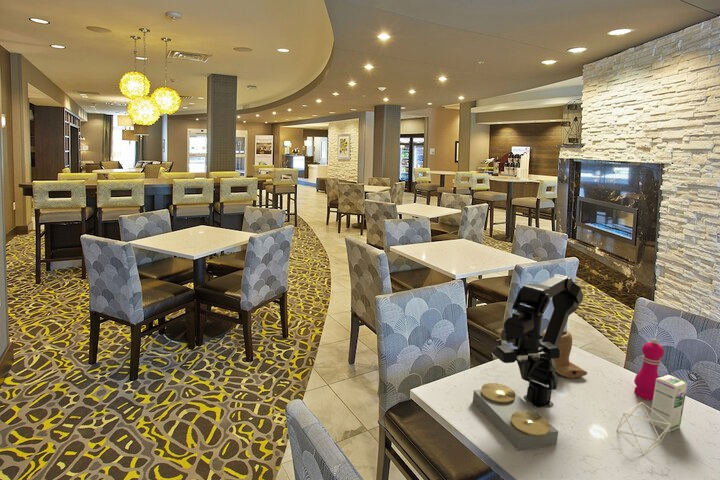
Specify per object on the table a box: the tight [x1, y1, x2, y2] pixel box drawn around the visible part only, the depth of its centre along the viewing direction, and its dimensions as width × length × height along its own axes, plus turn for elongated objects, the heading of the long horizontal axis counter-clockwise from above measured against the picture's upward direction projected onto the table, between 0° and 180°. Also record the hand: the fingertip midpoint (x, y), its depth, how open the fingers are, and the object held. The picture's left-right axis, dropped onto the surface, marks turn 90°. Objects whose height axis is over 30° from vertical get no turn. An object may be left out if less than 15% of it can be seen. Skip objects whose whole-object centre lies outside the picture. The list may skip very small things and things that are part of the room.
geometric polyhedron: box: [616, 401, 671, 456], centre depth 126 cm, size 12×11×9 cm
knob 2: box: [511, 411, 551, 436], centre depth 126 cm, size 10×10×5 cm
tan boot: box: [541, 329, 588, 379], centre depth 165 cm, size 15×12×15 cm
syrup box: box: [648, 374, 688, 433], centre depth 134 cm, size 6×6×14 cm
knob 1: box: [480, 382, 516, 404], centre depth 141 cm, size 10×10×5 cm
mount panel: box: [472, 388, 559, 451], centre depth 133 cm, size 12×24×4 cm, turn 15°
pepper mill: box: [633, 338, 665, 401], centre depth 150 cm, size 7×7×20 cm
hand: (523, 379), depth 134 cm, fingers closed
